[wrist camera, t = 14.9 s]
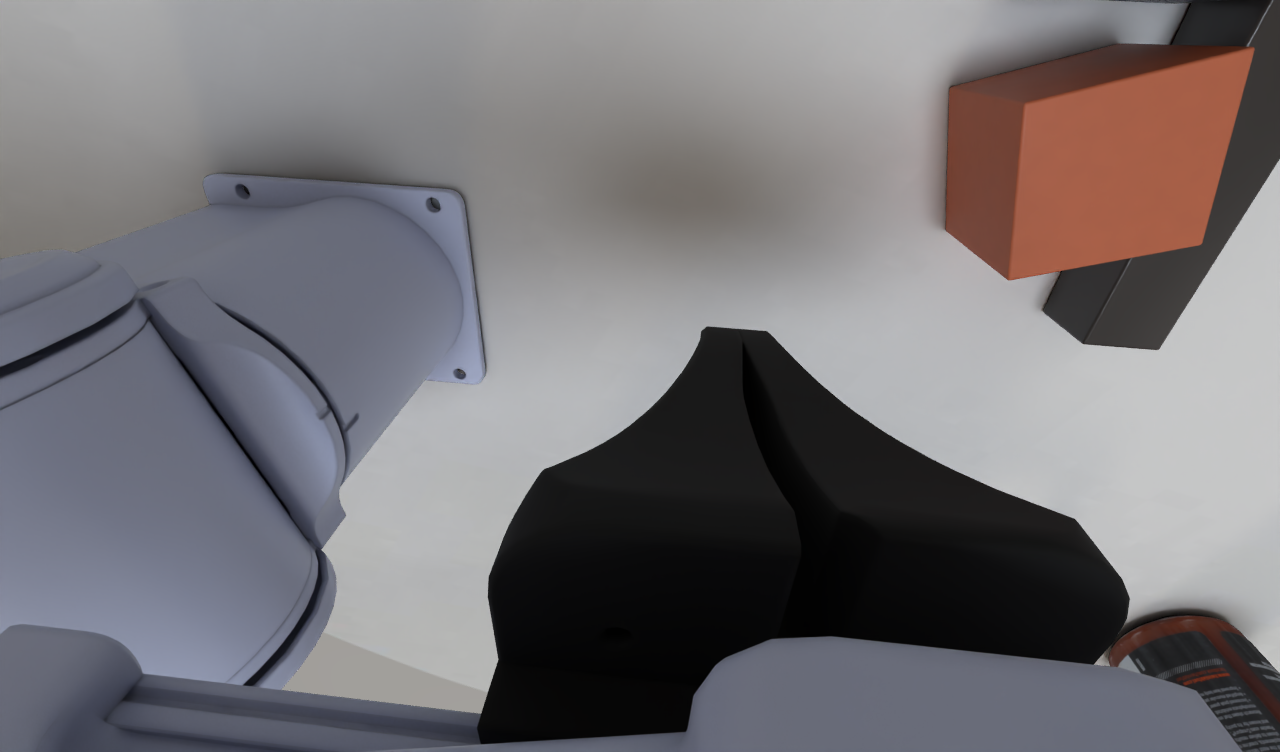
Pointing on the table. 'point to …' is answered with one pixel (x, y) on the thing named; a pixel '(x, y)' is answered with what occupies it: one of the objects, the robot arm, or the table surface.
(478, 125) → the table surface
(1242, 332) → the table surface
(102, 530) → the robot arm
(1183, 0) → the charcoal block
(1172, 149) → the terracotta block
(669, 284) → the table surface
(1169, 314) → the straight edge
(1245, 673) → the supplement bottle
